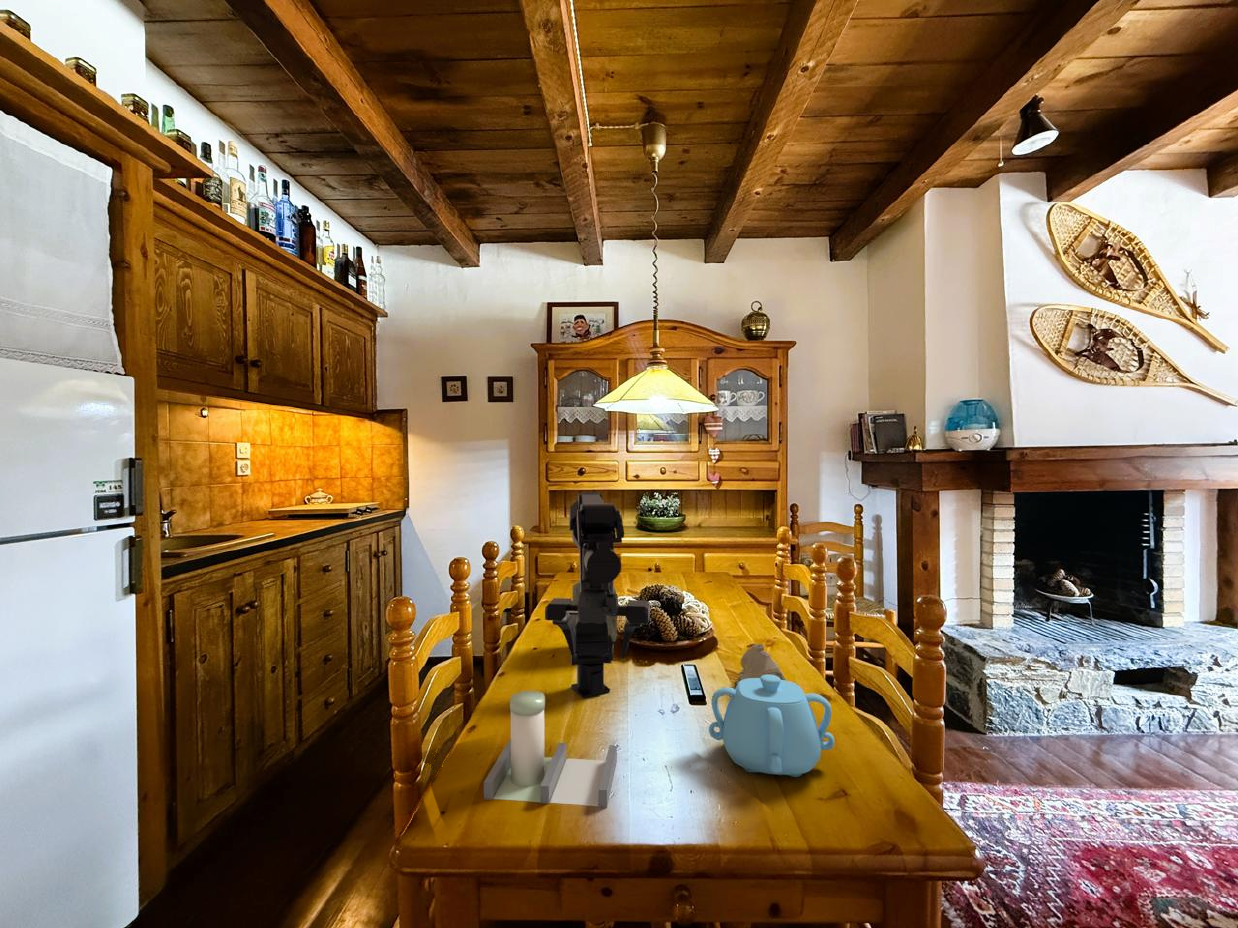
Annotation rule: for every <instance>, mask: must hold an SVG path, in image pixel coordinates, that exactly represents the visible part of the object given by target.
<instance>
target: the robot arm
mask: <svg viewBox="0 0 1238 928" xmlns="http://www.w3.org/2000/svg"><path fill="white" fill-rule="evenodd" d="M577 495H578V496H577V499H576V501H575V502H574V503H572V504H571V506H570V507H569V514H568V515H569V516H568V518H569V519H568V530H569V531H571V536H572V537H571V538H572V542H573V543H574V545H575V546H576V547H577V549H578V550H579V551H578V552H579V555H578V556H579V557H578V558H579V581H580V596H579V601H578V604H573V598H561V597H560V598H559V597H558V598H557V597H554V598H553V599H552V600H551V601H550V602H549V603H548V604H546V605H545V608H544V620H546V621H552V625H554V626H558V628H560V630H561V632H562V634H563V635H564V637H565V640H566V643H567V646H568V649H569V652H570V664H571V666H576V683H573V684H571V685H570V687H571V689H572V690H573V691H575V692H576V693H577V694H578V695H579V696H580V697H582V698H588V697H592V696H593V697H594V696H597V695H602V694H607V693H610V692H611V688H609V687H608V686H607V685H606V684H605V683H604V681H605V679H604V678H605V675H604V674H605V671H604V670H605V669H604V667H605V666H604V665H605V664H609V665H610V664H612V662H613V661H614V649H615V648H614V647H615V641H613V640H612V638H611V634H608V625H607V623H606V618H607V616H617V617H625V622H624V626H623V639H622V644H621V645H622V646H621V659H622V660H624V659H625V657H626V654H627V650H628V648H629V644H630V640H631V637H632V635H633V633H634V631H635V629H636V628H641V627H642V625H643V624H648V623H649V621H650V615H651V609H650V608H651V604H650V602H648V600H643V599H642V600H639V599H638V600H636V599H633V600H631V599H628V601H627V604H626V605H624V604H623V605H621V604H619V596H618V593H616V594H614V587H615V585H614V581H615V580H616V579H617V577H619V575H620V573H621V570H622V563H621V560H620V557H619V556H618V554H617V553H616V551H615V550H614V544H622V543H623V538H625V530H624V521H623V515H621V513H620V510H619V509H617V508H616V504H615V503H604V501H603V498H602V497H603V496H602V493H600V492H597V491H595V492H594V491H593V492H591V491H589V492H588V491H587V492H584V491H582V492H581V493H578V494H577ZM574 615H578V620H579V621H578V623H577V624H576V626H574Z"/></svg>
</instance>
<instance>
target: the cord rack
mask: <svg viewBox="0 0 1238 928" xmlns="http://www.w3.org/2000/svg"><path fill="white" fill-rule="evenodd" d="M617 762H618V746H617V745H608V750H607V754H606V759H605V760H599V759H584V758H583V759H581V758H580V759H579V758H567V742H558V743H557V746H556V749H555V752H554V754H553V756H552V757H549V756H548V757H547V756H544V779H543V780H542V781H541V782H540V783H538V784H536V785H533V786H527V787H524V786H518V785H515V784H514V783H513V782H512V781H511V739H509V740H508V742H507V743H506V745H505V747H504V748H503V750H502V752H501V754H499V757H498V758H497V760H496V761H495V763H494V765H493V766H492V768H491V770H490V772H488V775H487V776H486V778H485V780H484V781H483V800H486V801H487V800H489V801H492V800H502V801H515V802H516V801H517V802H518V801H519V802H530V803H540V804H545V805H546V804H547V805H549V804H558V805H559V804H560V805H575V806H588V807H598V808H600V809H601V808H602V809H608V805H609V799H610V796H611V791H612V786H613V781H614V776H615V772H616V767H617Z"/></svg>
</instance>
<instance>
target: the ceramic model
mask: <svg viewBox="0 0 1238 928" xmlns="http://www.w3.org/2000/svg"><path fill="white" fill-rule="evenodd" d="M764 646H765V645H763V644H758V643H757V644H753V645H752V647H749V648H748V649H746V651H745V652H744V653H743V655H742V657H741V658H740V665H741V667H742V670H740V671H739V672H738V677H737V680H736V682H735V683H736V686H737V685H738V683H739V682H740V681H741V680H743V679H748V678H760V677H761V676H762V675H775V676H777V677H779V678H780V679H781V680H785V681H786V677H785V674H784V673H783V671H782V670H781V668H780V666H779V664H778V663H777V662H776V661H775V660H774V659H773V657H771V655H770V653H769V652H767V651H765V647H764Z"/></svg>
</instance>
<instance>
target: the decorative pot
mask: <svg viewBox="0 0 1238 928" xmlns="http://www.w3.org/2000/svg"><path fill="white" fill-rule="evenodd" d="M711 696H712V697H711V707H712V713H713V714H714V718H715V720H716V721H713V722H711V723H710V724H709V725H708V726H709V727H708V733H709V735H710V736H711V738H713V739H714V740H715V741H716V740H718V741H721V740H722V741H723V744H724V745H723V746H724V748H725V750H726V752H727V754H728V755H729V756H730V758H731V760H732V761H733V762H734V763H735V764H736V765H738V766H739V767H742V769H743V770H744V769H745V770H744V771H745V772H748V773H751V772H753V773H754V772H755V773H763V774H769V775H776V776H777V775H778V776H783V775H784V776H790V777H792V778H793V777H794V778H800V777H801V776H802V774H806V773H809V772H810V771H812V770H813V769H814V768H815V766H817V763H818V762H819V761H820V759H821V756H822V750H824V751H829V750H831V749H833V748H834V746H835V744H836V743H835V738H834V735H833V734H832V733H830V732H827V730H828V727H829V725H830V723H831V720H832V714H833V710H832V706H831V703H830V702H829V701H828V700H827V699H826V698H825V697H823V696H822V695H820V694H817V693H806V694H805V692H804V690H803V688H802V687H801V686H800V685H799V684H797V683H795V682H793V681H788V680H786V679H785V680H781V679H780V678H779V677H777V676H775V675H762V676H761V677H760V678H748V679H743V680H741V681H740V682H739V683H738V685H737V684H736V686H735V688H731V687H730V686H729V687H728V686H727V687H726V686H725V687H721V688H719V689H717V690H716V691H715V692H714V693H713V695H711ZM722 696H730V698H729V702H728V703H727V706H726V709H725V712H724V717H722V713H721V712H720V709H719V703H718V701H719V700H718V699H720V697H722ZM810 702H814V703H815V702H816V703H819V704H821V705H823V707H824V715H823V718H822V721H821V723H820V726H818V722H817V717H816V716H815V713H814V711H813V708H812V707H811V705H810ZM715 728H718V729H719V731H716V729H715ZM824 738H827V739H828V741H824ZM755 773H754V774H755Z"/></svg>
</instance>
